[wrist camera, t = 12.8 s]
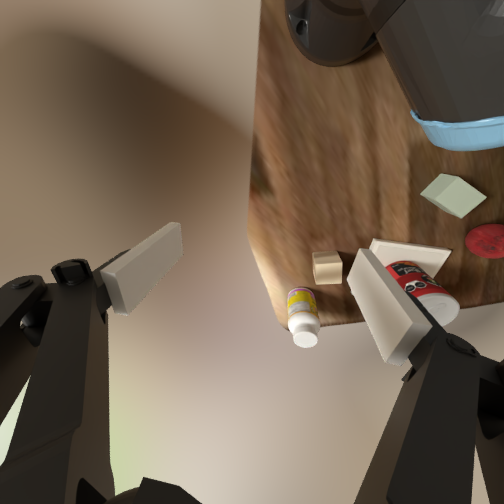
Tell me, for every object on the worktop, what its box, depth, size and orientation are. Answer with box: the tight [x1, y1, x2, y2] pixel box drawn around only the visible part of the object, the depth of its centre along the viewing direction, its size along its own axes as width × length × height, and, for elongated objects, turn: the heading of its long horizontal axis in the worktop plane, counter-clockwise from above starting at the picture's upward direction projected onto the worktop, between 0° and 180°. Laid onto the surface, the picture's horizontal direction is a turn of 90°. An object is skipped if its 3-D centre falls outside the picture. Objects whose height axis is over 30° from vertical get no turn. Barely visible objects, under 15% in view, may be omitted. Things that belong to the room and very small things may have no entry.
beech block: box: [313, 251, 342, 284], centre depth 42 cm, size 5×5×5 cm
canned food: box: [385, 261, 460, 326], centre depth 37 cm, size 8×8×11 cm
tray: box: [351, 238, 451, 295], centre depth 42 cm, size 14×14×1 cm
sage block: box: [420, 174, 487, 218], centre depth 33 cm, size 4×6×4 cm, turn 61°
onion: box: [465, 224, 504, 258], centre depth 34 cm, size 6×6×8 cm
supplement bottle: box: [288, 287, 320, 348], centre depth 44 cm, size 7×7×13 cm
